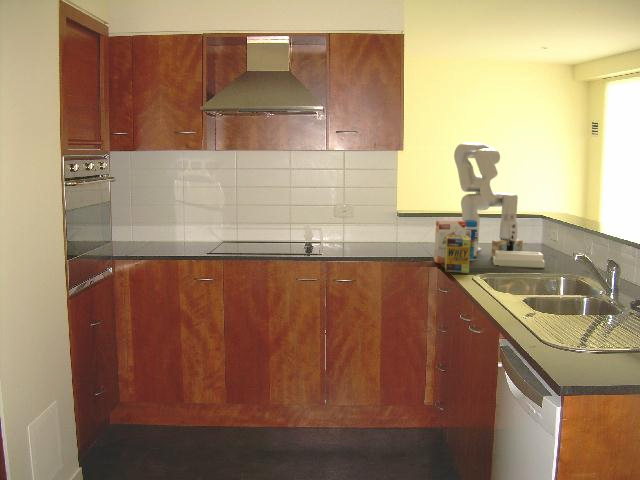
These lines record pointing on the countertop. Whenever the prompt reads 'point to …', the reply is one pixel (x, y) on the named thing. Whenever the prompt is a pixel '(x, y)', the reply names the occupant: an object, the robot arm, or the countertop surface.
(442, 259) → the cracker box
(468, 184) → the robot arm
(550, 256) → the countertop surface
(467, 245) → the protein box
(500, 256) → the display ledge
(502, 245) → the picture frame
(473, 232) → the beverage bottle
